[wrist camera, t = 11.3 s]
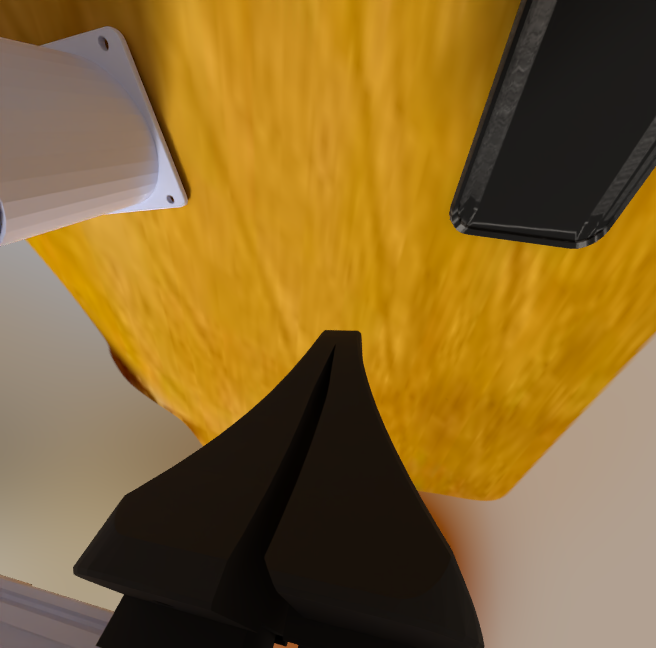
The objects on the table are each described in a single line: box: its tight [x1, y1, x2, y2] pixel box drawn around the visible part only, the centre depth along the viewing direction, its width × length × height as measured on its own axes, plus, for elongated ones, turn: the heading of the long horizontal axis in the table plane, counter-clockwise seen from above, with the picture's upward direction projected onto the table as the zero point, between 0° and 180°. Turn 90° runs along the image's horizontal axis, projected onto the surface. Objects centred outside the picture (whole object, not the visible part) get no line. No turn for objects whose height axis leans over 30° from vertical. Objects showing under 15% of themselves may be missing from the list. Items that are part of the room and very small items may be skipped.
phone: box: [449, 0, 656, 249], centre depth 10 cm, size 8×1×15 cm
